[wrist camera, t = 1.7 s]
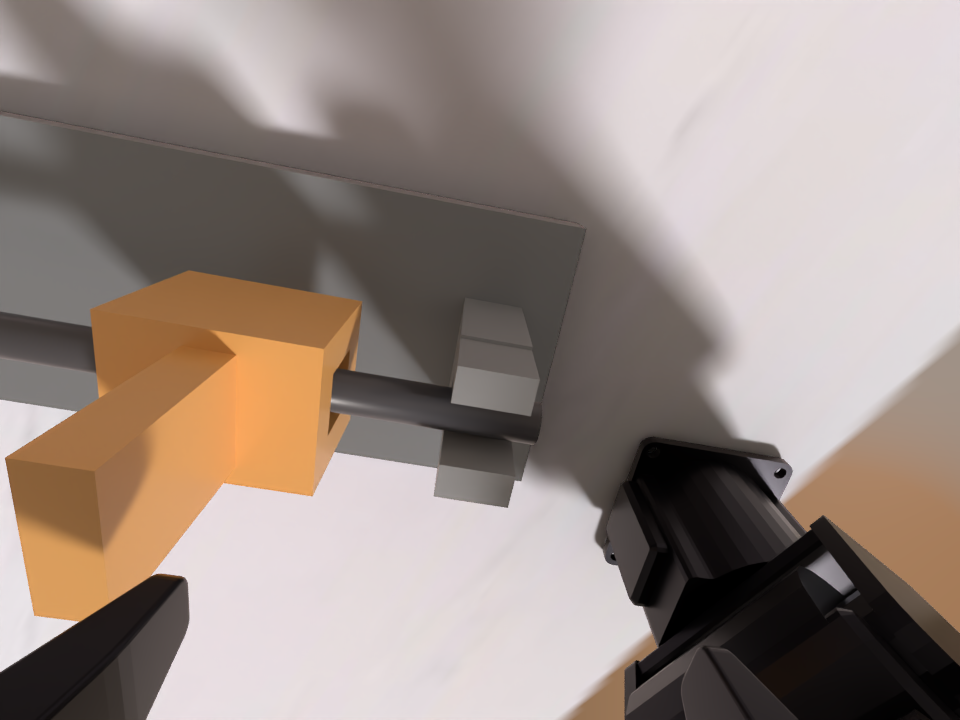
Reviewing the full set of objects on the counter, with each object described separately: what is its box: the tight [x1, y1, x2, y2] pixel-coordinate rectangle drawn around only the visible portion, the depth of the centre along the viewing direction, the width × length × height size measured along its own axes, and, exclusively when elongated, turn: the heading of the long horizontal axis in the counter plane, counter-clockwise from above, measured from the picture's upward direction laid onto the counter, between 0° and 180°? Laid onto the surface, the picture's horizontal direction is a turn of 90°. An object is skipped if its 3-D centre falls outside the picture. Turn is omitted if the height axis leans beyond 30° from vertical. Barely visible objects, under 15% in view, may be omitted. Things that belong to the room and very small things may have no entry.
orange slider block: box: [5, 270, 362, 621], centre depth 12 cm, size 5×4×8 cm
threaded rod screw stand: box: [0, 111, 586, 508], centre depth 15 cm, size 29×10×8 cm, turn 79°
